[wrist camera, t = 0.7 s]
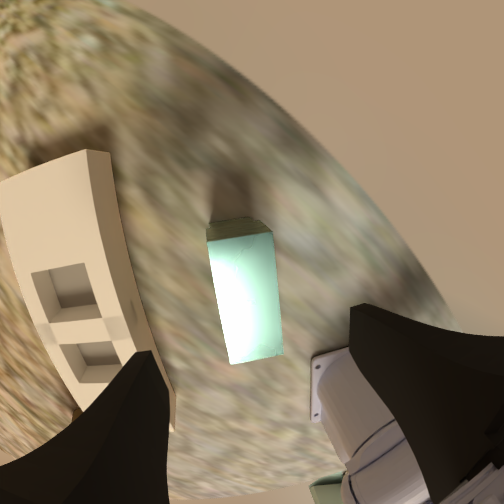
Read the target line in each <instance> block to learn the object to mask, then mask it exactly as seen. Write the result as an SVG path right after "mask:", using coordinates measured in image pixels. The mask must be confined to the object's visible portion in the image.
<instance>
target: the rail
mask: <svg viewBox="0 0 504 504" xmlns="http://www.w3.org/2000/svg"><path fill="white" fill-rule="evenodd" d="M0 216H1V221H2V226H3V230H4V235H5V239H6V243H7V247H8V251H9V254H10V258H11V262H12V265H13V268H14V271H15V275H16V278H17V281H18V284H19V287H20V290H21V292H22V295H23V298H24V300H25V303H26V306H27V308H28V311H29V313H30V316H31V318H32V320H33V323H34V325H35V327H36V329H37V332H38V334H39V336H40V338H41V340H42V342H43V344H44V346H45V348H46V350H47V352H48V354H49V356H50V358H51V360H52V362H53V364H54V366H55V367H56V369H57V371H58V373H59V375H60V376H61V378H62V380H63V381H64V383H65V385H66V386H67V388H68V390H69V391H70V393H71V394H72V396H73V398H74V399H75V401H76V402H77V404H78V405H79V407H80V408H81V410H82V411H83V412H84V411H85V410H86V409H87V408H88V407H89V406H90V405H91V403H92V402H93V401H94V400H95V399H96V398H97V397H98V396H99V395H100V394H101V392H102V391H103V390H104V389H105V388H106V387H107V386H108V384H109V383H110V382H111V381H112V379H113V378H114V377H115V376H116V375H117V373H118V372H119V371H120V370H121V369H122V367H123V366H124V365H125V364H126V362H127V361H128V360H129V359H130V358H131V356H132V355H133V354H134V353H135V352H140V351H148V350H151V351H152V353H153V356H154V358H155V360H156V363H157V365H158V367H159V370H160V372H161V374H162V376H163V379H164V381H165V383H166V385H167V387H168V389H169V397H170V424H169V432H175V412H176V396H175V393H174V391H173V389H172V386H171V384H170V381H169V379H168V376H167V374H166V371H165V369H164V366H163V364H162V361H161V358H160V356H159V353H158V350H157V347H156V345H155V342H154V339H153V336H152V333H151V330H150V327H149V324H148V321H147V318H146V315H145V312H144V309H143V305H142V302H141V299H140V295H139V292H138V288H137V285H136V281H135V278H134V274H133V270H132V266H131V262H130V258H129V254H128V250H127V246H126V241H125V237H124V232H123V228H122V223H121V218H120V213H119V208H118V202H117V197H116V191H115V185H114V178H113V171H112V164H111V156H110V152H103V151H97V150H90V149H84V150H81V151H78V152H75V153H72V154H69V155H66V156H63V157H60V158H57V159H54V160H52V161H49V162H46V163H44V164H41V165H39V166H36V167H33V168H31V169H29V170H26V171H24V172H21V173H19V174H17V175H15V176H12V177H10V178H8V179H6V180H4V181H1V182H0Z"/></svg>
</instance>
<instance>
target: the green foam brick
mask: <svg viewBox="0 0 504 504" xmlns="http://www.w3.org/2000/svg"><path fill="white" fill-rule="evenodd" d="M209 226H210V228H206V237H207V246H208V252H209V258H210V264H211V269H212V275H213V280H214V285H215V291H216V296H217V301H218V306H219V311H220V316H221V321H222V326H223V331H224V336H225V341H226V345H227V350H228V355H229V359H230V364H237V363H242V362H247V361H253V360H258V359H263V358H267V357H272V356H277V355H281V354H284V352H283V340H282V328H281V316H280V304H279V293H278V282H277V272H276V261H275V251H274V241H273V232H272V231H271V230H270V229H269V228H268V227H267V226H266V225H265V224H263V223H262V222H261V221H260V220H257V221H253V220H252V219H251V218H250V217H244V218H238V219H231V220H225V221H219V222H213V223H209Z"/></svg>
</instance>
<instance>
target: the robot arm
mask: <svg viewBox="0 0 504 504" xmlns="http://www.w3.org/2000/svg"><path fill="white" fill-rule="evenodd" d="M317 365H318V366H317ZM316 366H317V367H316ZM310 420H311V422H312V423H317V422H320V421H321V422H322V424H323V426H324V429H325V431H326V433H327V435H328V437H329V439H330V441H331V443H332V445H333V447H334V449H335V451H336V453H337V455H338V457H339V459H340V460H341V462H342V463H343V464H345V466H346V468H347V470H348V472H349V473H348V474H347V475H345V476H344V477H343V480H342V485H341V498H342V501H343V504H504V337H502V336H501V337H500V336H483V335H473V334H465V333H460V332H455V331H450V330H445V329H441V328H438V327H434V326H431V325H427V324H424V323H421V322H418V321H415V320H412V319H409V318H406V317H403V316H401V315H398V314H395V313H392V312H390V311H387V310H384V309H382V308H379V307H376V306H373V305H370V304H366V303H363V304H360V305H356V306H353V307H350V334H349V347H346V348H343V349H340V350H336V351H333V352H330V353H326V354H323V355H319V356H316V357H314V358H313V359H312V361H311V414H310ZM169 424H170V397H169V389H168V387H167V385H166V383H165V381H164V379H163V376H162V374H161V372H160V370H159V367H158V365H157V363H156V360H155V358H154V356H153V353H152V351H151V350H148V351H140V352H135V353H134V354H133V355H132V356H131V358H130V359H129V360H128V361H127V362H126V364H125V365H124V366H123V367H122V369H121V370H120V371H119V372H118V373H117V375H116V376H115V377H114V378H113V379H112V381H111V382H110V383H109V384H108V386H107V387H106V388H105V389H104V390H103V391H102V392H101V394H100V395H99V396H98V397H97V398H96V399H95V400H94V401H93V402H92V403H91V405H90V406H89V407H88V408H87V409H86V410H85V411H84V412H83V413H82V414H81V415H80V416H79V417H78V418H77V419H75V420H74V421H73V422H72V423H71V424H70V425H69V426H67V427H66V428H65V429H64V430H63V431H61V432H60V433H59V434H57V435H56V436H54V437H53V438H52V439H50V440H49V441H48V442H46V443H45V444H43V445H42V446H40V447H39V448H37V449H35V450H34V451H32V452H30V453H28V454H27V455H25V456H23V457H21V458H19V459H17V460H14V461H12V462H10V463H7V464H5V465H2V466H0V504H170V503H169V496H168V485H167V451H168V437H169Z"/></svg>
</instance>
